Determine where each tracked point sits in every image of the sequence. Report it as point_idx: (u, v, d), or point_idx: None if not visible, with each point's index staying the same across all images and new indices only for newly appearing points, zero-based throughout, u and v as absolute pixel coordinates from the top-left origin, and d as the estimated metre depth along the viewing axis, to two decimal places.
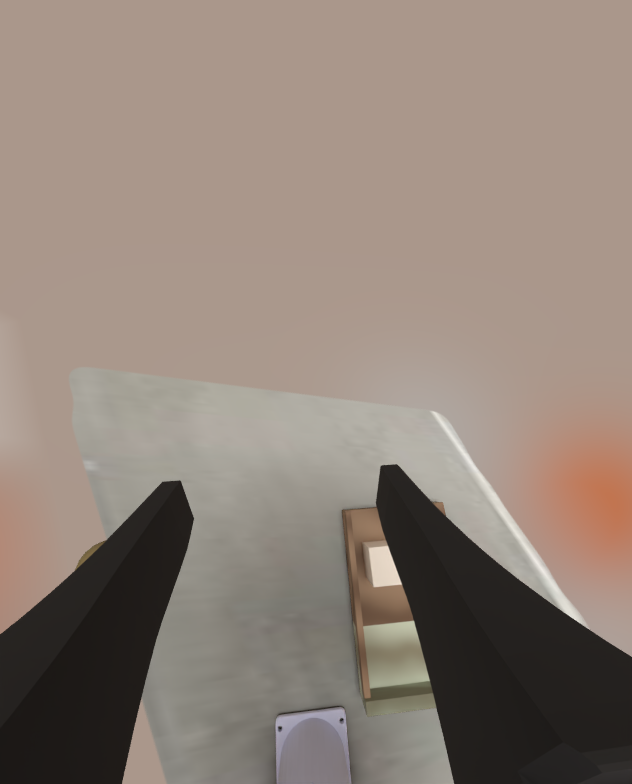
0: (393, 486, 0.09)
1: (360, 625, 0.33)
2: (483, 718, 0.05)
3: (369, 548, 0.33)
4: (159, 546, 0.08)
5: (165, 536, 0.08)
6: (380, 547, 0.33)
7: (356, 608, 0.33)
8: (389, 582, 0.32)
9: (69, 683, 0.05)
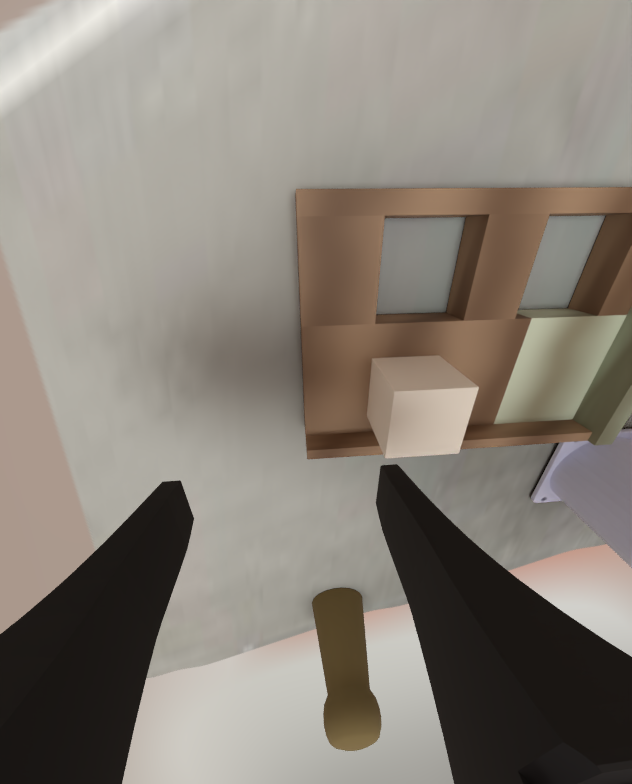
0: (393, 486, 0.09)
1: (496, 441, 0.18)
2: (483, 718, 0.05)
3: (386, 455, 0.15)
4: (159, 546, 0.08)
5: (165, 536, 0.08)
6: (389, 436, 0.14)
7: (471, 447, 0.18)
8: (461, 424, 0.14)
9: (70, 683, 0.05)
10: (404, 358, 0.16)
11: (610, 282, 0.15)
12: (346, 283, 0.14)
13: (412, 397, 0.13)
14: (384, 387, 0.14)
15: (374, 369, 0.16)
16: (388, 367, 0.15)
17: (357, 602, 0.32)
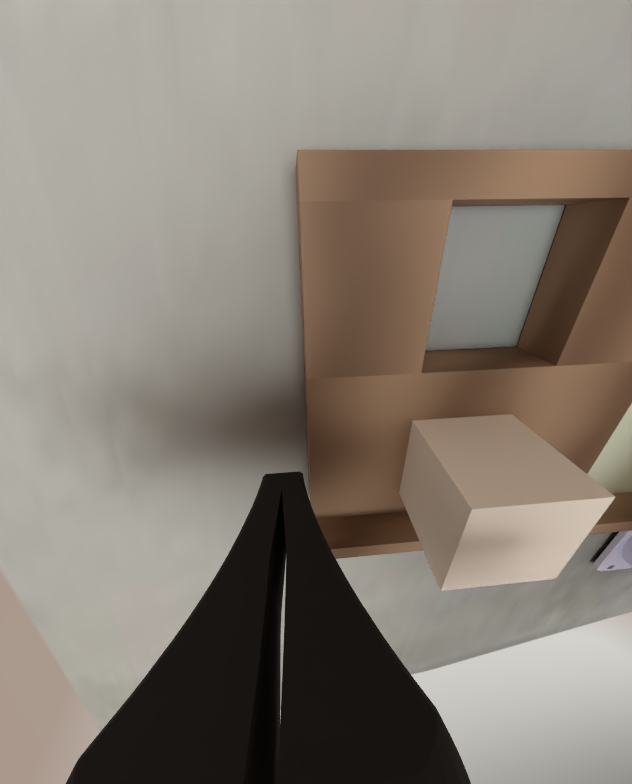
0: (282, 495, 0.09)
1: None
2: None
3: None
4: (279, 535, 0.08)
5: (281, 526, 0.09)
6: (452, 564, 0.09)
7: None
8: (571, 545, 0.08)
9: (265, 660, 0.05)
10: (463, 421, 0.11)
11: None
12: (380, 313, 0.09)
13: (500, 515, 0.07)
14: (442, 482, 0.09)
15: (418, 440, 0.10)
16: (443, 442, 0.10)
17: None
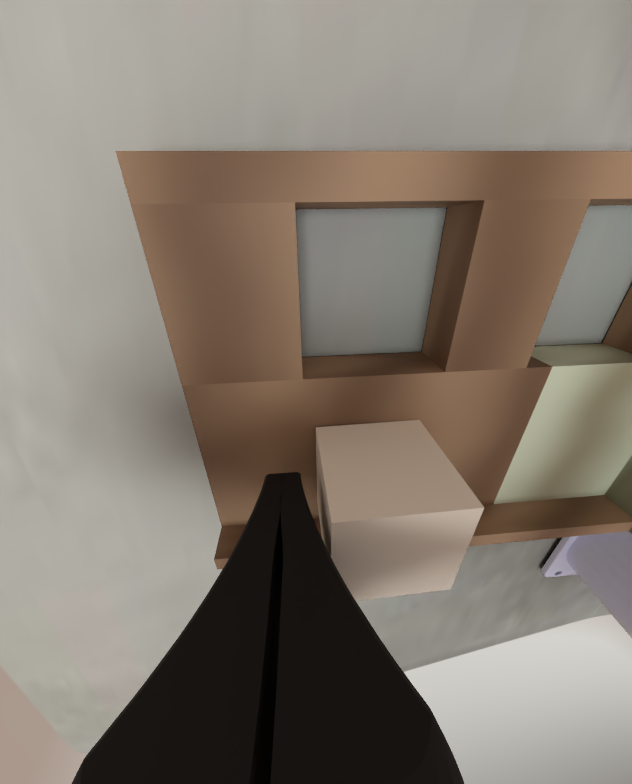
0: (279, 495, 0.09)
1: (497, 537, 0.12)
2: None
3: None
4: None
5: None
6: None
7: None
8: (454, 556, 0.08)
9: (269, 659, 0.05)
10: (366, 428, 0.10)
11: None
12: (244, 318, 0.08)
13: (365, 529, 0.07)
14: (324, 492, 0.08)
15: (317, 447, 0.10)
16: (336, 450, 0.09)
17: None
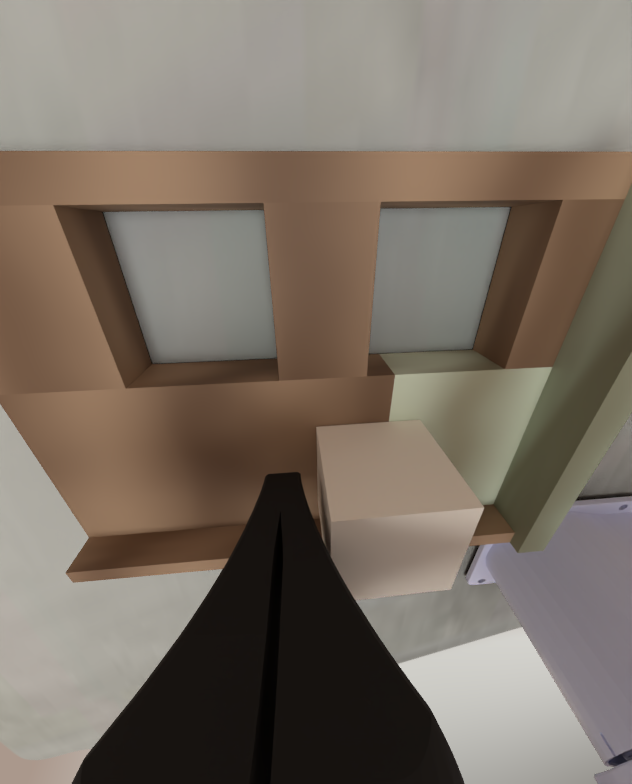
0: (279, 495, 0.09)
1: None
2: None
3: None
4: None
5: None
6: None
7: None
8: (454, 556, 0.08)
9: (269, 660, 0.05)
10: (366, 428, 0.10)
11: (518, 318, 0.09)
12: (39, 326, 0.08)
13: (365, 527, 0.07)
14: (324, 492, 0.08)
15: (318, 447, 0.10)
16: (336, 449, 0.09)
17: None
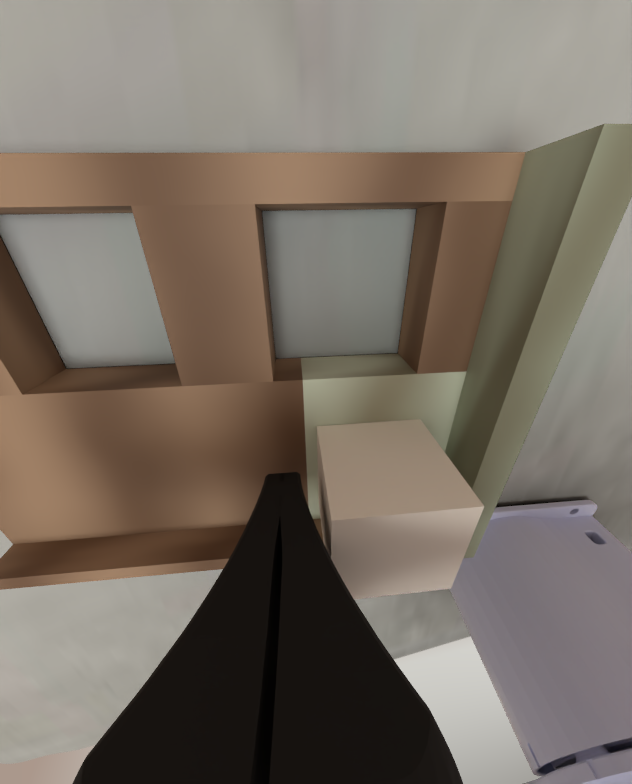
0: (279, 495, 0.09)
1: None
2: None
3: None
4: None
5: None
6: None
7: None
8: (454, 555, 0.08)
9: (270, 660, 0.05)
10: (366, 427, 0.10)
11: (423, 322, 0.09)
12: None
13: (365, 526, 0.07)
14: (325, 490, 0.08)
15: (318, 447, 0.10)
16: (336, 449, 0.09)
17: None
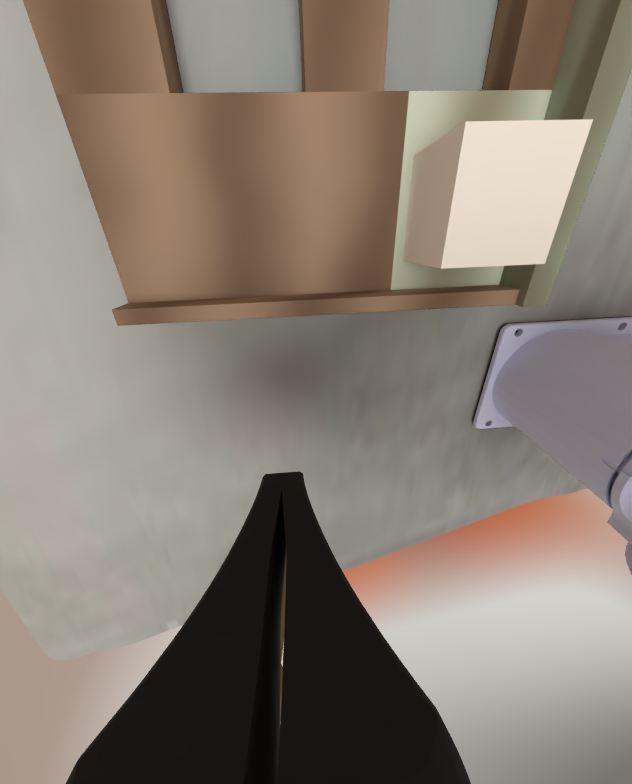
0: (282, 495, 0.09)
1: (385, 302, 0.13)
2: None
3: (442, 265, 0.10)
4: (280, 535, 0.08)
5: (281, 526, 0.09)
6: (450, 223, 0.10)
7: (351, 311, 0.13)
8: (556, 202, 0.09)
9: (265, 660, 0.05)
10: None
11: (520, 24, 0.10)
12: (99, 3, 0.09)
13: (491, 137, 0.08)
14: (441, 154, 0.10)
15: (418, 164, 0.11)
16: None
17: None
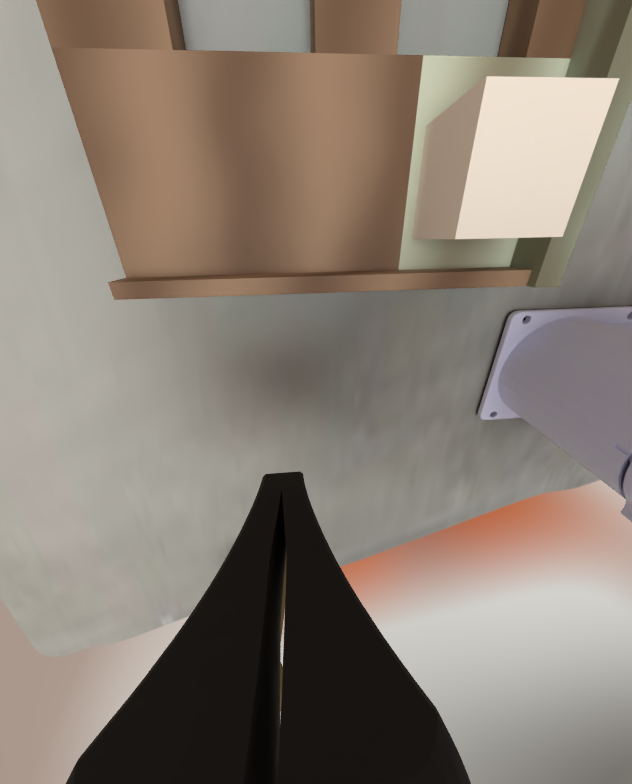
0: (282, 495, 0.09)
1: (394, 281, 0.13)
2: None
3: (456, 235, 0.10)
4: (280, 535, 0.08)
5: (281, 526, 0.09)
6: (466, 189, 0.09)
7: (357, 289, 0.13)
8: (577, 170, 0.09)
9: (265, 660, 0.05)
10: None
11: None
12: None
13: (513, 94, 0.08)
14: (457, 117, 0.09)
15: (431, 133, 0.11)
16: None
17: None
